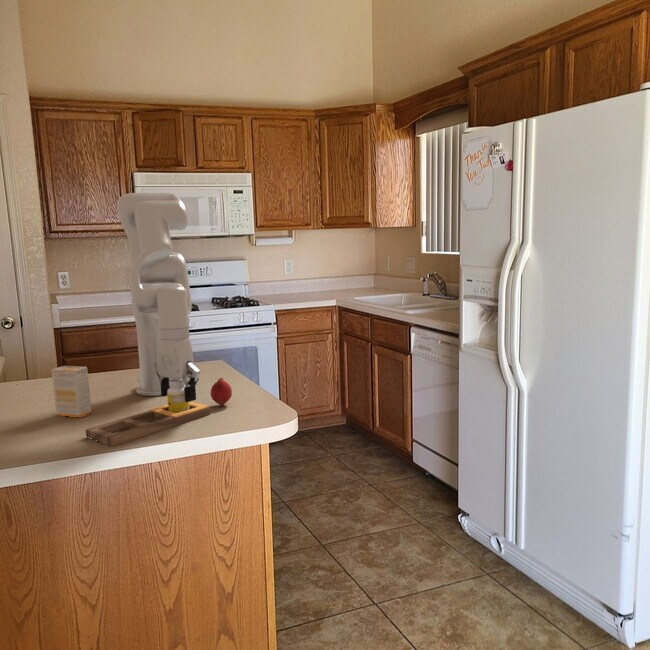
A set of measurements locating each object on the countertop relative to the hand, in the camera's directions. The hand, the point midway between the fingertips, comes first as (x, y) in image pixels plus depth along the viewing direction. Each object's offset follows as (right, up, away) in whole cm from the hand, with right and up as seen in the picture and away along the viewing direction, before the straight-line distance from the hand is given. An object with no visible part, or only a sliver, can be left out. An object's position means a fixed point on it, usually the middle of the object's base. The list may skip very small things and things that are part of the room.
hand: (178, 398), depth 158 cm
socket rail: (-5, -6, -6) cm, 10 cm away
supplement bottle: (0, -5, +1) cm, 5 cm away
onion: (+10, -3, +10) cm, 14 cm away
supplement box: (-30, -5, +5) cm, 30 cm away
